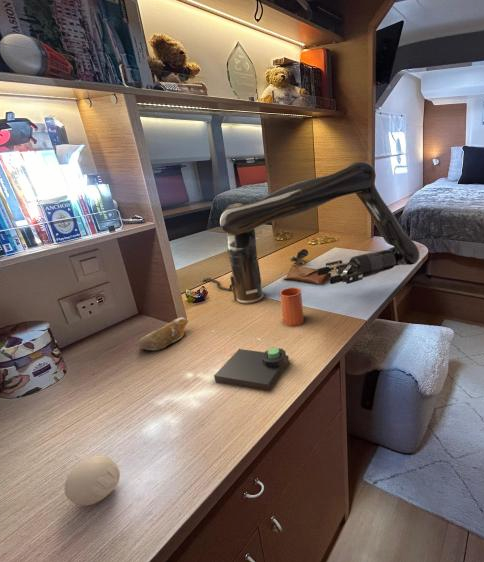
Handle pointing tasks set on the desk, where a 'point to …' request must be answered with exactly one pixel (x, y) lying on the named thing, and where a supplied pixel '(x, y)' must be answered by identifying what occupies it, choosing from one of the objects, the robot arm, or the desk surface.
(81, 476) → the tan rounded lump
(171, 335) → the stone
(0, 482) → the desk surface
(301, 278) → the sunglasses case
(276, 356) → the scale button
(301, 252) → the eagle figurine
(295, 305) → the cup
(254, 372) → the scale
